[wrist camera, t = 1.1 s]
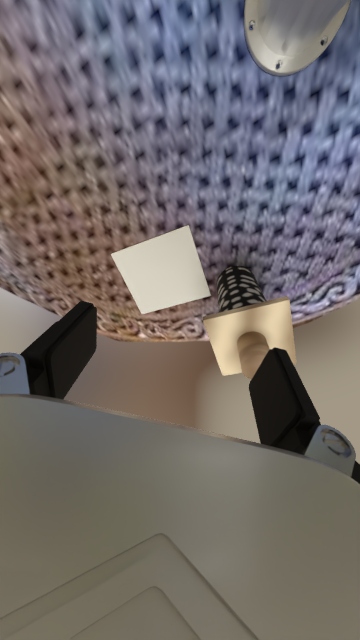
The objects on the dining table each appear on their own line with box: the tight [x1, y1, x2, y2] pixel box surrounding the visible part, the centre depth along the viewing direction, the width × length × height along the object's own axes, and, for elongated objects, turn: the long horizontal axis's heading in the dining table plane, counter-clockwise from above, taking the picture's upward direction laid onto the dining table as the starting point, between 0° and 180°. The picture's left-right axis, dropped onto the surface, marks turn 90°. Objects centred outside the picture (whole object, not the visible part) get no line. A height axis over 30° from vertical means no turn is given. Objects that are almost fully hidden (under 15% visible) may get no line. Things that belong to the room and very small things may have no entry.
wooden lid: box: [203, 296, 296, 379], centre depth 29 cm, size 11×11×6 cm
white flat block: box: [111, 225, 211, 314], centre depth 49 cm, size 18×16×1 cm
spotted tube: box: [217, 266, 266, 313], centre depth 40 cm, size 8×8×20 cm
